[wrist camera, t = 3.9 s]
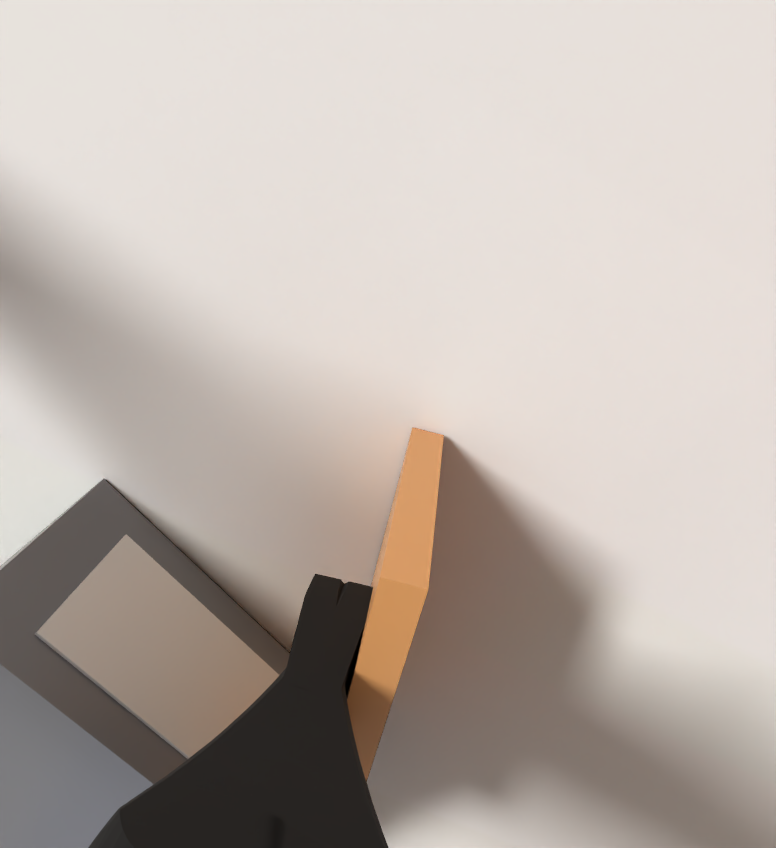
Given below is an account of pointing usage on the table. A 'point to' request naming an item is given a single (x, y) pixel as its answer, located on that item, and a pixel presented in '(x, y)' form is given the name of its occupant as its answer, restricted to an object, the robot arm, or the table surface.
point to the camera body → (111, 669)
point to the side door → (396, 593)
